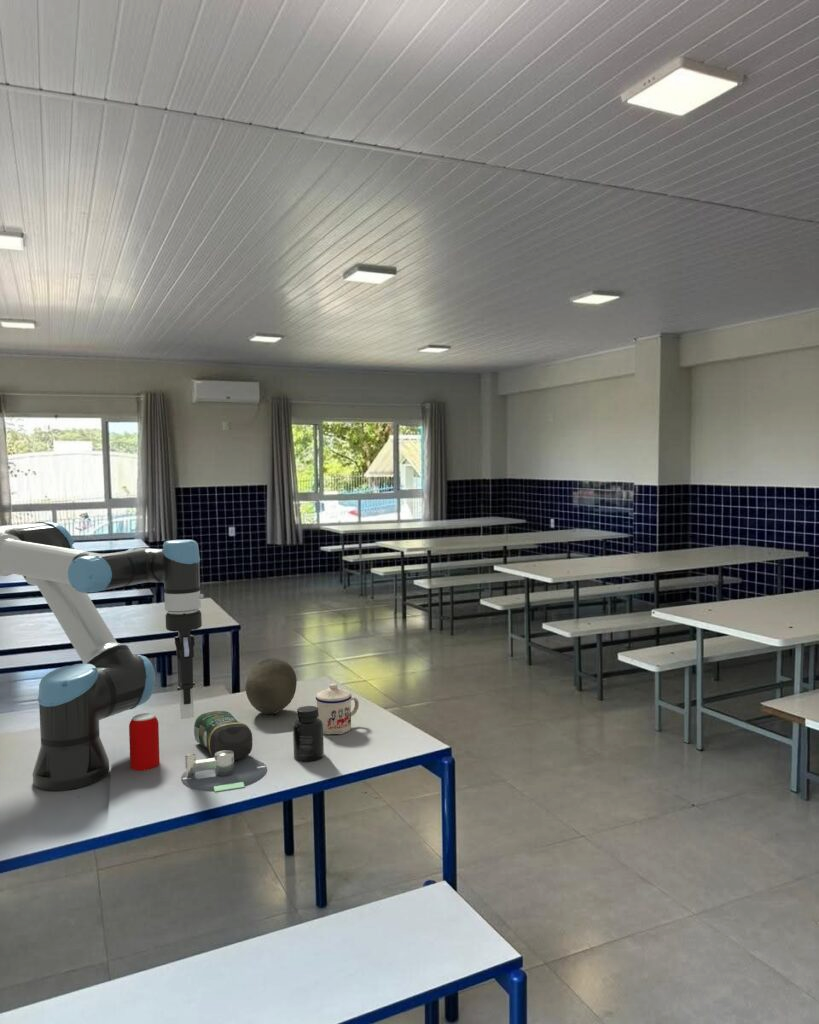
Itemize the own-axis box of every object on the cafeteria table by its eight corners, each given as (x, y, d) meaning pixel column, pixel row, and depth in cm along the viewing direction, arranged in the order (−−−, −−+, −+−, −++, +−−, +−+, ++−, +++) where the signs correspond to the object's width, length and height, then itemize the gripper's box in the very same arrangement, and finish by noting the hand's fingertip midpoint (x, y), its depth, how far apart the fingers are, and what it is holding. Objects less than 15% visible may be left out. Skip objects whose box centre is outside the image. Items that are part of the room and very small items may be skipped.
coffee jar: (231, 707, 182) (256, 724, 166) (232, 739, 182) (256, 759, 166) (192, 712, 177) (213, 730, 161) (192, 745, 177) (214, 767, 161)
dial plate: (184, 802, 147) (183, 796, 147) (178, 768, 164) (178, 763, 164) (274, 787, 154) (273, 781, 154) (260, 756, 170) (259, 751, 170)
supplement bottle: (330, 758, 169) (329, 707, 168) (310, 768, 163) (308, 715, 162) (307, 752, 173) (306, 702, 172) (287, 762, 167) (286, 710, 166)
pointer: (232, 767, 161) (232, 745, 161) (235, 773, 158) (234, 752, 157) (185, 774, 158) (184, 752, 158) (186, 781, 154) (186, 759, 154)
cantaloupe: (236, 712, 202) (235, 658, 201) (283, 702, 211) (281, 650, 210) (259, 726, 191) (258, 669, 190) (307, 715, 199) (306, 660, 199)
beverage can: (125, 774, 161) (123, 720, 161) (139, 763, 167) (137, 711, 167) (151, 775, 160) (149, 721, 160) (164, 764, 167) (163, 712, 166)
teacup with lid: (328, 738, 182) (327, 692, 181) (309, 728, 189) (308, 683, 188) (368, 727, 189) (367, 682, 188) (348, 718, 196) (348, 675, 196)
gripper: (203, 614, 156) (207, 723, 157) (198, 604, 168) (202, 706, 169) (166, 617, 153) (170, 728, 155) (164, 607, 166) (168, 710, 167)
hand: (187, 716), depth 162 cm, fingers closed
